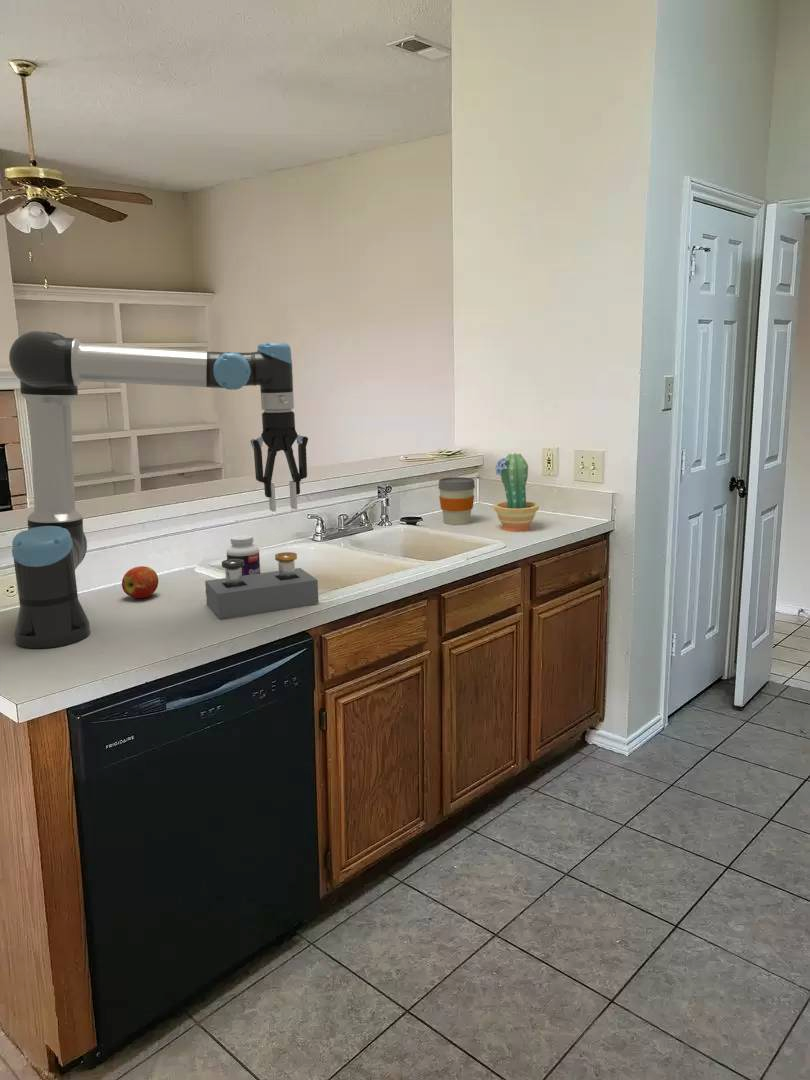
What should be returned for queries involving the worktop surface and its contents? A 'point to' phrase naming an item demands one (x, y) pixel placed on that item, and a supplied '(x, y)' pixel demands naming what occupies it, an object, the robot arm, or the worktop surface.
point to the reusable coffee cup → (456, 499)
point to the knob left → (233, 572)
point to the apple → (140, 582)
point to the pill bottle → (245, 553)
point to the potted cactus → (514, 494)
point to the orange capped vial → (286, 565)
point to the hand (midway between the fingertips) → (283, 509)
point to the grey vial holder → (261, 594)
